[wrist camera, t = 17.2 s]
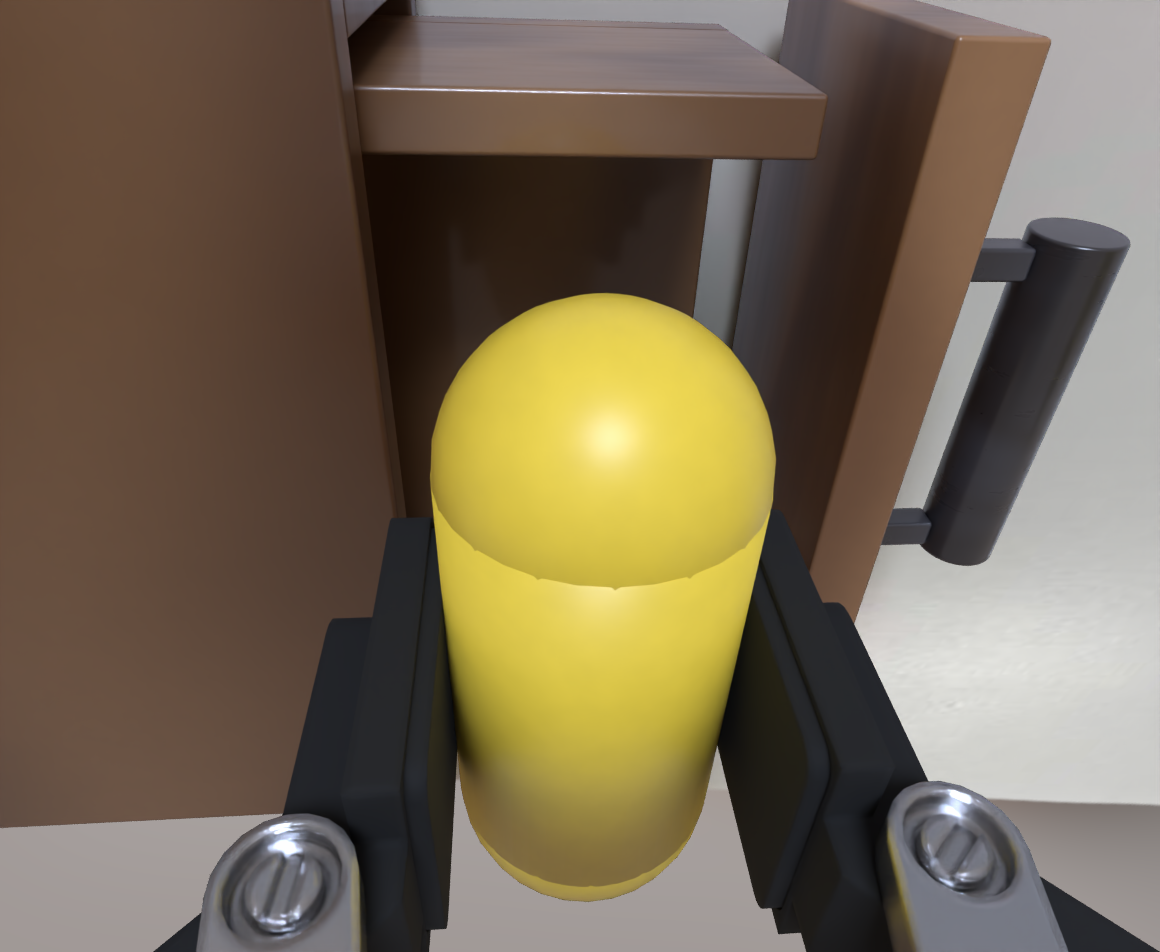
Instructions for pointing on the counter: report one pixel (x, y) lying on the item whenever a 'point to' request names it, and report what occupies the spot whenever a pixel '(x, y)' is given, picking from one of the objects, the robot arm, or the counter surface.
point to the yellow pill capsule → (595, 581)
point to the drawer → (777, 245)
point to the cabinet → (181, 398)
